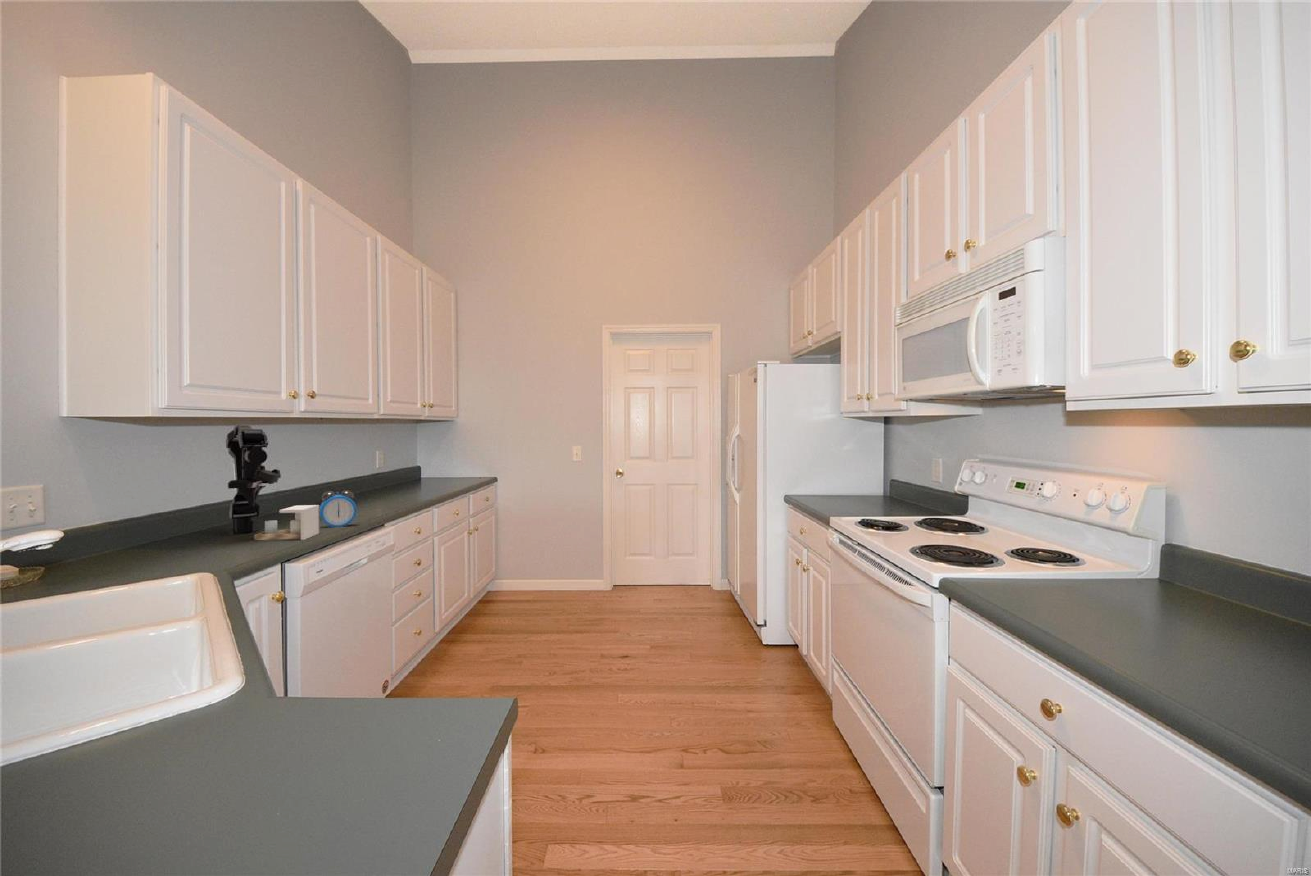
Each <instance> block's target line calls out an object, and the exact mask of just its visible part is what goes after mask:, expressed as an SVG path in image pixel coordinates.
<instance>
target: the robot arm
mask: <svg viewBox="0 0 1311 876" xmlns="http://www.w3.org/2000/svg"><path fill="white" fill-rule="evenodd" d="M225 438H226V439H225V448H226V449H227V451H228V455H230V457H231V458H233V462H234V463H233V464H234V474H235V476H234V477H235V479H232V480H230V481H228V482H227V489H235V490H236V494H235V496H234V497H233V499H232V501H231V503H230V506H229V512H228V513H229V514H228V516H229V519H230V520H232V532H230V533H229V535H234V534H235V535H236V534H250V533H253V532H256V531H258V529H257V520H256V518H258V517H260V511H261V510H260V509H261V504H260V503H259V501H257V500H258V499H257V498H258V497H259V494H260V492H261V490H263V489H264V488H266V487H267V485H262V484H269V485H272V484H275V483H278V481H279V479H281V477H282V474H281V470H280V469H277V468H274V469H272V470H268V469H266V467H265V465H263V464H264V463H265V462H266V461H267V459H268V454H267V452H266V450H264V448H268V446H269V441H268V436H267V434H266V432H265V431H264V430H263V429H259V428H258V429H257V428H256V429H255V428H252V427H251V426H250V425H234V427H233V430H231V431H230V432H228V433H227V434H226V437H225Z"/></svg>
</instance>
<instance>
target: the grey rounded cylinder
mask: <svg viewBox="0 0 1311 876" xmlns="http://www.w3.org/2000/svg"><path fill="white" fill-rule="evenodd" d="M277 530H278V520H276V519H275V520H274V519H273V520H265V521H264V531H265V534H277Z"/></svg>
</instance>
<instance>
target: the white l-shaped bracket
mask: <svg viewBox="0 0 1311 876" xmlns="http://www.w3.org/2000/svg"><path fill="white" fill-rule="evenodd" d="M319 509H320V505H319V504H309V505H308V504H303V505H302V504H301V505H292V506H290V507H286V508H282V509H279V514H287V513H288V514H289V513H290V514H295V515H294V520H301V539H300V541H302V540H303V541H304V540H306V539H309V538H312V537H314V536H316V535H319V534H320V514H319Z"/></svg>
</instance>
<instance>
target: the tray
mask: <svg viewBox="0 0 1311 876" xmlns="http://www.w3.org/2000/svg"><path fill="white" fill-rule="evenodd" d="M253 538H254V541H269V540H275V541H277V540H301V533H293V534H290V529H277V534H265V530H264V531H262V532H259V533H256V534H254V537H253Z"/></svg>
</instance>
